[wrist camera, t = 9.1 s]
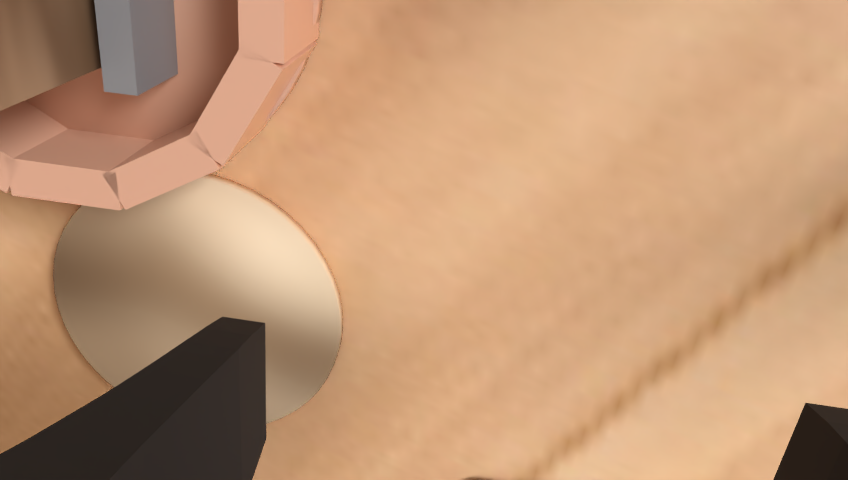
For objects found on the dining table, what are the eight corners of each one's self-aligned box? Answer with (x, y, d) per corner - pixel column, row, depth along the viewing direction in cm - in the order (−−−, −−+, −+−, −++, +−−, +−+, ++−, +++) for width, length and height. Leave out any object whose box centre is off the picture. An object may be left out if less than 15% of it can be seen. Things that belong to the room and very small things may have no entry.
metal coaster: (337, 439, 24) (334, 448, 24) (79, 398, 25) (72, 406, 24) (349, 192, 20) (346, 197, 20) (41, 150, 21) (32, 155, 20)
